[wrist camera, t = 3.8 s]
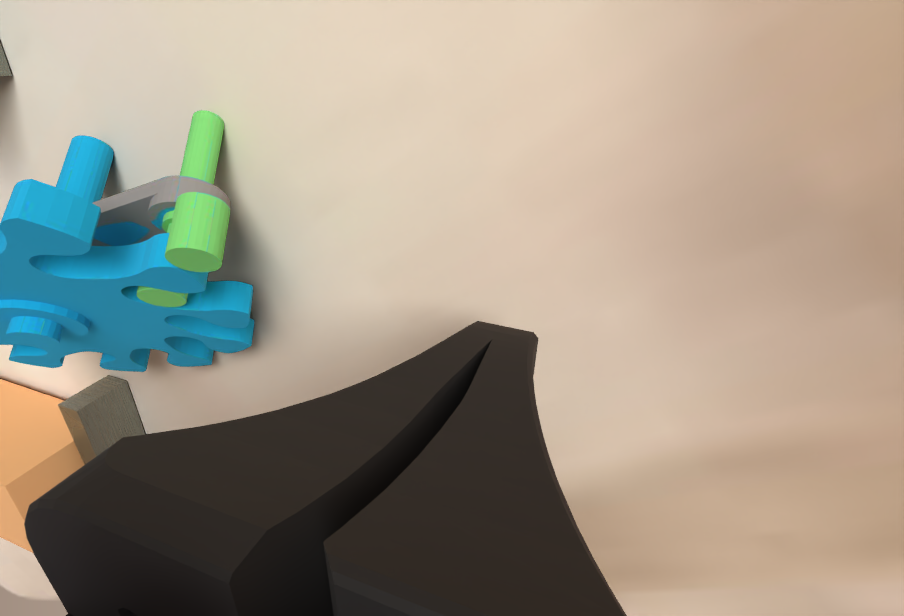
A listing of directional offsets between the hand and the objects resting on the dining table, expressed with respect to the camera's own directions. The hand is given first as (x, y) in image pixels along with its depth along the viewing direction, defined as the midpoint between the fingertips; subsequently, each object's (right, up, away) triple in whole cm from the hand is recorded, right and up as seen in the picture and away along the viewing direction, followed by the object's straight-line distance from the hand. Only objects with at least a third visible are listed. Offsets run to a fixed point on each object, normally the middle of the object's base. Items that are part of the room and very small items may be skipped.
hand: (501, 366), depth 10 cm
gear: (-9, +3, +5) cm, 11 cm away
